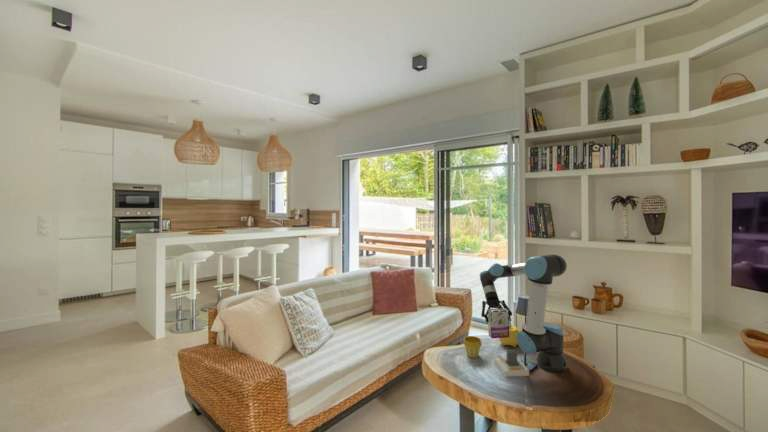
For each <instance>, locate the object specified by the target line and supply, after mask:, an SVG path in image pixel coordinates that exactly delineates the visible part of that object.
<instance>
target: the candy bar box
mask: <svg viewBox="0 0 768 432" xmlns="http://www.w3.org/2000/svg"><path fill="white" fill-rule="evenodd" d="M487 310H488V316H489V318H490V322H491V326H492V327H491V328H490V329H489V325H488V327H487V328H488V329H487V330H488V336H489V337H490V338H491V339H499V338H507V337H509V310H507V309H506V308H504V307H503V308H499V309H498V308H490V309H488V308H487ZM488 316H487V317H488Z"/></svg>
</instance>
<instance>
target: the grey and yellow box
mask: <svg viewBox="0 0 768 432" xmlns="http://www.w3.org/2000/svg"><path fill="white" fill-rule="evenodd" d="M520 331H522V329H518V327H516V326H515V325H512V324H511V327H510V328H509V337H507V338H498V340H499V341H500V343H501V344H502V346H503V345H506V346H511V347H512V346H513V347H512V348H517V345H518V342H517V334H518V333H519V332H520ZM518 346H519V345H518Z"/></svg>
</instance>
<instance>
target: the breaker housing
mask: <svg viewBox="0 0 768 432" xmlns="http://www.w3.org/2000/svg"><path fill="white" fill-rule="evenodd" d="M505 361H507V356H506V357H504V356H503V357H502V355H497V357H494V364H495V365H496V367H497V368H498V369H499V371H500V372H501V374H502V375H503V377H505V378H506V377H508V378H510V377H527V376H528V377H529V376H530V370H529V368H528V367H527V366H526V365H525V364H524V363H523V362H522V361H521V360H520V359H519V358H518V357H517V362H518V364H519V366H509V365H508V364H507V363H506V362H505Z"/></svg>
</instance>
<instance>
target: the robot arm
mask: <svg viewBox="0 0 768 432" xmlns="http://www.w3.org/2000/svg"><path fill="white" fill-rule="evenodd" d="M567 266H568V265H567V261H566V260H565V259H564V258H563V257H562V256H561V255H559V254H545V255H535V256H531V257H529V258H528V259H527V260H526V261H525V262H519V263H514V264H513V263H512V264H506V265H502V264H501V263H497V262H495V263H493V264H492V265H491V266H490V267H489V268H488V270H483V271H482V272H479V279H480V280H479V281H480V282H481V286H482V289H483V293H484V297H485V300H486V301H485V300H482V301H481V304H482V308H481V317H482V318H484V319H485V323H487V324H488V325H489V329H490V328H491V327H492V326H491V322H490V318H489V316H488V309H499V308H506V309H507V310H509V328H510V327H511V325H512V324H511V323H512V318H511V317H512V315H513V312H512V311H511V309H510V308H509V306H508V305H507V303H506V302H505V300H500V299H499V296H498V293H497V289H496V286H495V282H496V281H497V280H498V279H503V278H510V277H519V276H522V277H523V276H526V277H527V280H528V282H529V283H530V284H529V285H530V286H529V295H528V303H527V309H526V310H527V311H526V319H525V322H524V323H523V324H522V326H521V327H522V328H521V330H522V331H520V332H519V333H518V334H517V342H518V347H519V348H520V350H522V351H523V352H524V353H525V354H527V355H528V354H529V355H530V354H537V353H538V354H537V357H536V364H537V366H538V367H539V368H540V369H543V370H545V371H548V372H552V373H563V372H566V371H567V368H568V365H567V363H568V362H567V361H566V358H565V355H564V329H563V328H562V327H561V326H559V325H556V324H554V323H550V322H545V316H546V307H547V301H548V293H549V292H548V291H549V286H550V285H552V284H553V280H554V279H553V278H554V277H555V278H557V277H560V276H562V275H563V274H564V273H565V272H566V271H567V268H568V267H567ZM532 298H533V299H532ZM486 305H488V308H487V310H486ZM485 310H486V311H485ZM535 312H536V314H535ZM489 329H488V330H489Z"/></svg>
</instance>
